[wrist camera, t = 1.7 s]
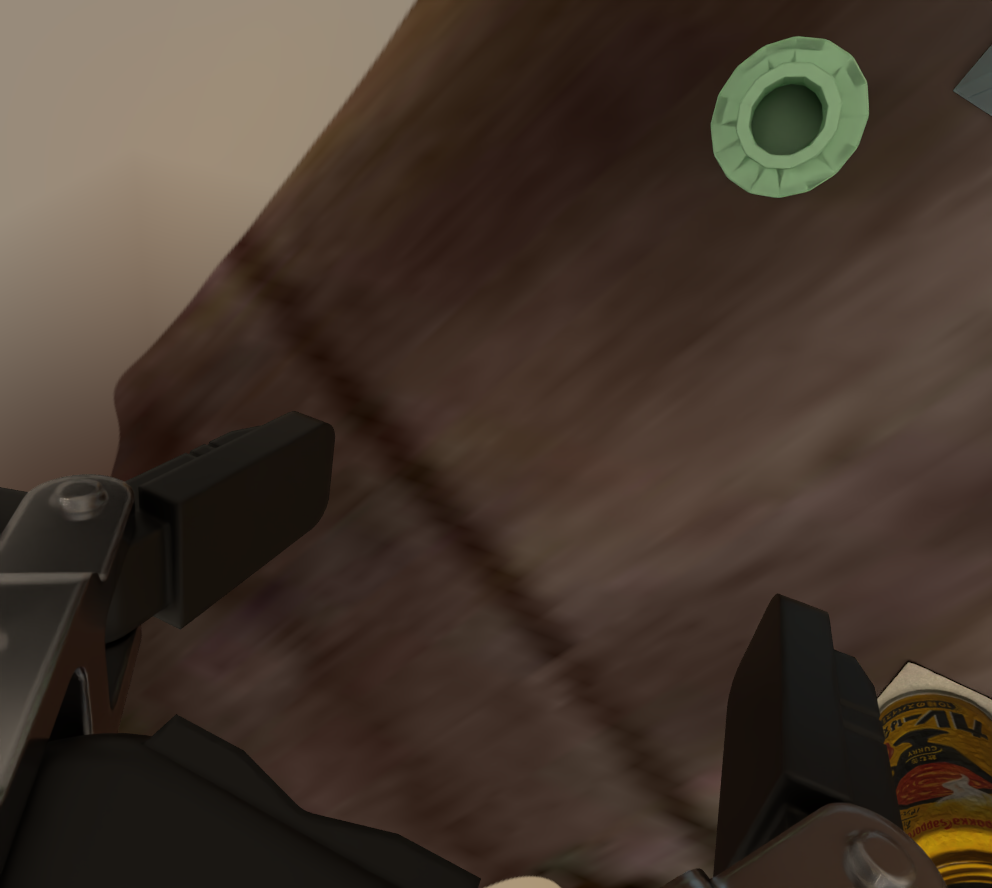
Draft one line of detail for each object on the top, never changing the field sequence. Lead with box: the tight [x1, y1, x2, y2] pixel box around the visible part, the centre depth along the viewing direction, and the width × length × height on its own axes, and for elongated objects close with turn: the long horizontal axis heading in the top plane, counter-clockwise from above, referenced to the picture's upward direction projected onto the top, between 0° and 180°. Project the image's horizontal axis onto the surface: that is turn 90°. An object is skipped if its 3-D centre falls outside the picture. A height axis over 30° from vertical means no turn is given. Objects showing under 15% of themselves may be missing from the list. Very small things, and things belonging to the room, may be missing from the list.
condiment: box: [877, 662, 992, 888], centre depth 31 cm, size 7×8×12 cm
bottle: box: [711, 36, 869, 198], centre depth 25 cm, size 5×5×10 cm
